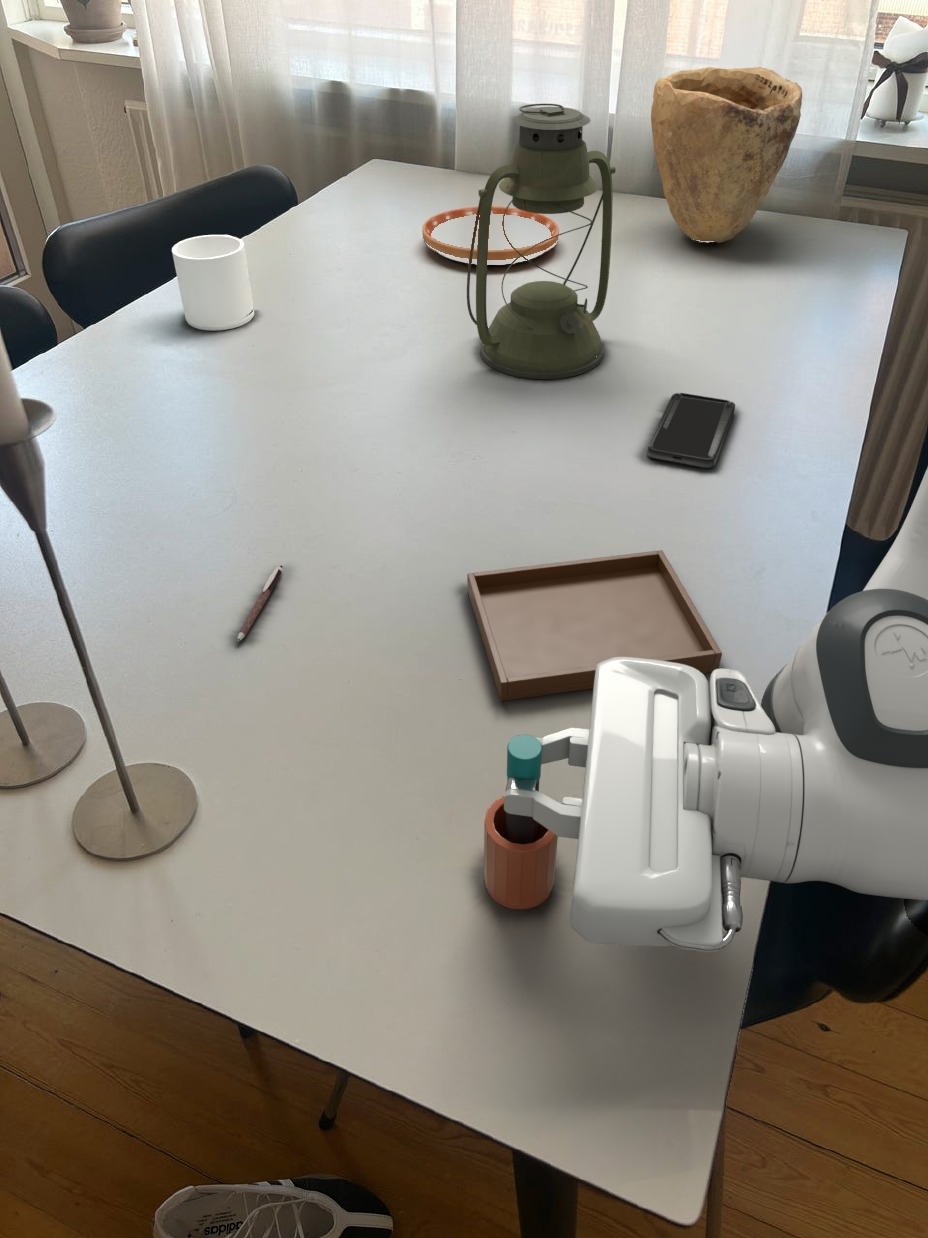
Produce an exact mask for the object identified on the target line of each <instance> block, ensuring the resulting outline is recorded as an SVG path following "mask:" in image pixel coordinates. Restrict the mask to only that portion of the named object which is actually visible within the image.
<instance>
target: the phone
mask: <svg viewBox="0 0 928 1238" xmlns="http://www.w3.org/2000/svg"><path fill="white" fill-rule="evenodd" d="M735 409H736V403H735V402H734V401H732V400H728V399H722V398H715V397H710V396H703V395H698V394H691V393H684V392H676V393H673V394H672V395H671V396H670V398H669V400H668V403H667V405H666V407H665V409H664V411H663V413H662V415H661V416H660V419H659V421H658V423H657V425H656V427H655V429H654V432H653V433H652V436H651V438H650V439H649V441H648V442H647V443H648V444H647V450H646V455H647V456H648V457H649V458H650V459H653V460H657V461H663V462H669V463H673V464H681V465H684V466H691V467H696V468H701V469H710V468H713V467H715V466H716V463H717V460H718V457H719V455H720V452H721V449H722V447H723V444H724V442H725V438H726V436H727V433H728V431H729V428H730V425H731V423H732V420H733V417H734V414H735Z"/></svg>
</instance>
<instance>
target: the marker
mask: <svg viewBox="0 0 928 1238" xmlns="http://www.w3.org/2000/svg"><path fill="white" fill-rule="evenodd" d="M535 737H536V736H533V735H530V734H518V735H516V736H513V737H511V739H510V740H509V741H508V743H507V747H506V749H507V751H506V778H507V779H506V781H508V779H509V778H511V777H518V778H520V779H521V780H523V779H533V780H536V790H537V791H539V792H540V779H541V776H542V775H541V774H542V773H541V772H542V764H541V759H542V745H541V743H540V741H539V740H538V739H537V738H538V737H536V738H535ZM536 831H537V821H535V820H534V819H533V817H530V816H523V815H515V814H509V813H507V815H506V840H508V841H510V842H511V843H517V844H529V843H534V842H536Z"/></svg>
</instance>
